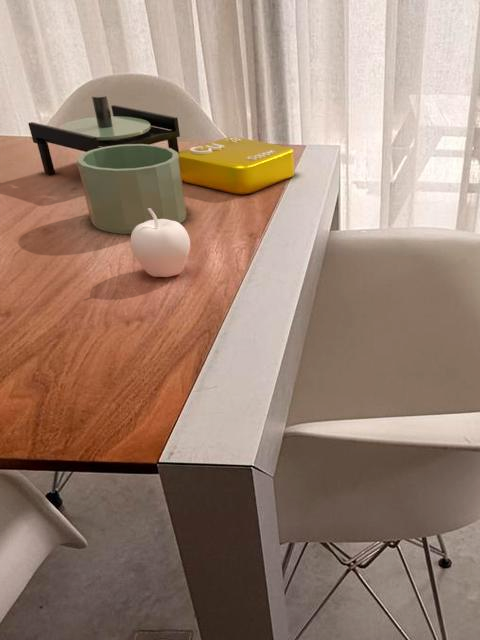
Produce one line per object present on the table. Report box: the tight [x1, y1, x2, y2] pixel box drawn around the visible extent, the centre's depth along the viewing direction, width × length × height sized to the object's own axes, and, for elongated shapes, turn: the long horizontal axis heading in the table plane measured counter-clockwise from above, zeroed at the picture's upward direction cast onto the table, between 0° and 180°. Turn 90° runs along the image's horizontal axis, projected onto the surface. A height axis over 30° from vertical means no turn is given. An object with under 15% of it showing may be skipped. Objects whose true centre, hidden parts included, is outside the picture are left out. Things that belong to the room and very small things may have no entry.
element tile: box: [178, 136, 295, 195], centre depth 116 cm, size 15×15×5 cm
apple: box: [130, 208, 191, 278], centre depth 84 cm, size 7×7×8 cm
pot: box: [76, 144, 188, 235], centre depth 99 cm, size 14×14×8 cm
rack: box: [27, 104, 181, 176], centre depth 117 cm, size 18×16×8 cm
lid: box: [58, 94, 152, 141], centre depth 114 cm, size 15×15×6 cm
